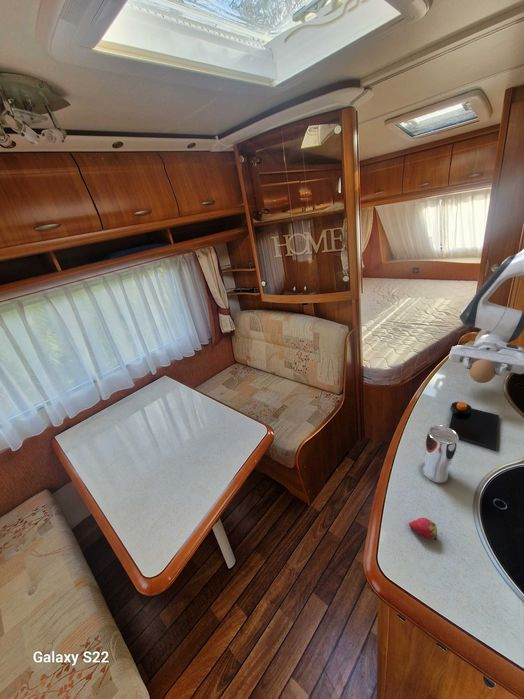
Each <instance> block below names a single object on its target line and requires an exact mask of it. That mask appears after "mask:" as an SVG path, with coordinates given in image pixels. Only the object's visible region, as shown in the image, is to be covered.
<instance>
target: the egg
mask: <svg viewBox="0 0 524 699" xmlns="http://www.w3.org/2000/svg"><path fill="white" fill-rule="evenodd" d="M469 376H470V378H471V379H472V380H473V381H474V382H476V383H479V384H486V383H489V382H491V381H492V380H493V379H494V378H495V376H496V374H495V367H494V365H493V364H492V363H491V362H490V361H489V360H486V359H480V360H478V361H476V362H474V363H473V364H472V365H471V369H469Z"/></svg>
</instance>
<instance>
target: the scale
mask: <svg viewBox="0 0 524 699" xmlns="http://www.w3.org/2000/svg"><path fill="white" fill-rule="evenodd" d="M458 402H459V401H454V402H452V403H451V405H450V411H451V412H452V414H451V418H450V421H449V426H448V427H449V428H451V429H452V430H454V431H455V432H456V433H457V435H458V437H459V439H458V441H462V442H464V443H468V444H470V445H471V444H472V445H474V446H478V447H481V448H484V449H488V450H491V451H494V452H496V451H497V448H498V434H499V419H500V415H499V414H496V413H491V412H488V411H484V410H480V409H476V408H472V407H471V405H470V404H468V403H466V404H467V409H466V410H464V411H463V410H459V409H457V407H456V406H457V403H458Z"/></svg>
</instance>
